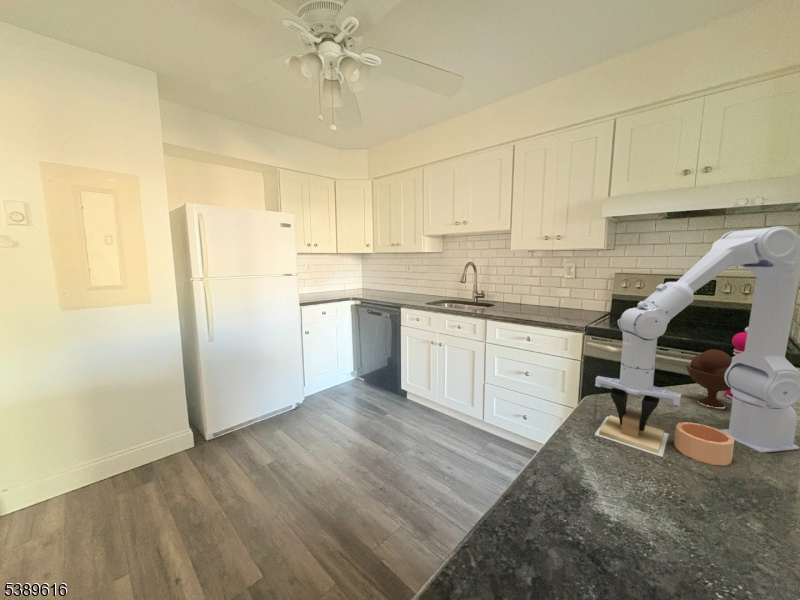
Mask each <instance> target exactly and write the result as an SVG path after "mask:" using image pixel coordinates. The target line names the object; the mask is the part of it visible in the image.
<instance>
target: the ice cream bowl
mask: <svg viewBox="0 0 800 600" xmlns="http://www.w3.org/2000/svg"><path fill="white" fill-rule="evenodd" d="M731 362H732V357H731V355H729V354H728V353H726V352H725V351H723V350H720V349H708V350H705V351H703V352H701V353H699V354H697V355H695V356H694V357H693V358H692V359H691V361H690V363H689V364H686V371H687V372H688V375H689V376H690V377H691V378H692V380H693V381H694V382H695V383H696V384H697V385H698V386H700V387H702V388H704V389H706V391H707V396H706V397H702V398H698V399H697V400H698V401H699V402H700V403H703V404H705V405H709V406H713V407H724V406H726V405H725V404H724V403H723V402H722V401H720V400H719V399H717V396H718V393H719V392H725V391H726V390H730V389H731V388H730V387H729V386H728V385H727V384H726V382H725V379H724V376H725V372H726V370H727V369H728V368H729V366H730V365H731Z"/></svg>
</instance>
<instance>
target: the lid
mask: <svg viewBox="0 0 800 600" xmlns="http://www.w3.org/2000/svg"><path fill="white" fill-rule="evenodd" d="M641 414H642V410H640V411H639V410H637V409H632V408H626V413H625V414H624V416H623V418H622V425H620V419H619V416H615V415H611V414H609V416H608V417H609V418H608V419H607V421H606V422H605V424H604V425H603V426H602V428H601V429H600V431H599V435H602V436H605V437H608V438H611V439H615V440H618V441H621V442H624V443H627V444H630V445H633V446H636V447H639V448H642V449H645V450H649V451H652V452H655V453H658V452H659V449H660V445H661V442H662V439H663V435H664V433H665V430H664V429H662V428H658V427H654V426H650V425H647V424H646V425H645V429H644V431H640V430H639V429H640V421H641Z"/></svg>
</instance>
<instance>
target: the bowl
mask: <svg viewBox="0 0 800 600" xmlns="http://www.w3.org/2000/svg"><path fill="white" fill-rule="evenodd" d="M720 430H721V429H719V428H716V427H712V426H708V425H706V424H702V423H696V422H688V421H685V422H678V423H677V424H676V425H675V431H674V433H675V434H674V440H673V441H674V442H673V445H674V447H675V449H676V450H677V451H678V452H680V453H681V454H683V455H684V456H686V457H688V458H690V459H693V460H695V461H697V462H701V463H703V464H707V465H713V466H721V467H722V466H728V465H731V463H732V461H733V455H734V454H733V453H734V446H735V440H734V439H733V438H732V437H731V436H730V435H729V434H727V433H725V432H723V431H720Z"/></svg>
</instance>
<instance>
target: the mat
mask: <svg viewBox="0 0 800 600" xmlns="http://www.w3.org/2000/svg"><path fill="white" fill-rule="evenodd" d="M608 418H609V416H606V417H605V419H604V420H603V421H602V423H601V425H600V426H599V427H598V429H597V430H596V431H595V433H594V436H597V437H599V438H603V439H606V440H609V441H612V442H615V443H618V444H622V445H625V446H628V447H631V448H634V449H637V450H639V451H643V452H646V453H649V454H652V455H655V456H658V457H662V458H663V456H664V453H665V449H666V445H667V441H668V439H669V435H670V434H669V433H667V432H664V435H663V439H662V442H661V445H660V449H659V452H658V453H655V452H652V451H649V450H645V449H642V448H639V447H636V446H633V445H630V444H627V443H624V442H621V441H618V440H615V439H611V438H608V437H605V436H602V435H599V431H600V429H601V428H602V426H603V425H604V424H605V422H606V421H607V419H608Z"/></svg>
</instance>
